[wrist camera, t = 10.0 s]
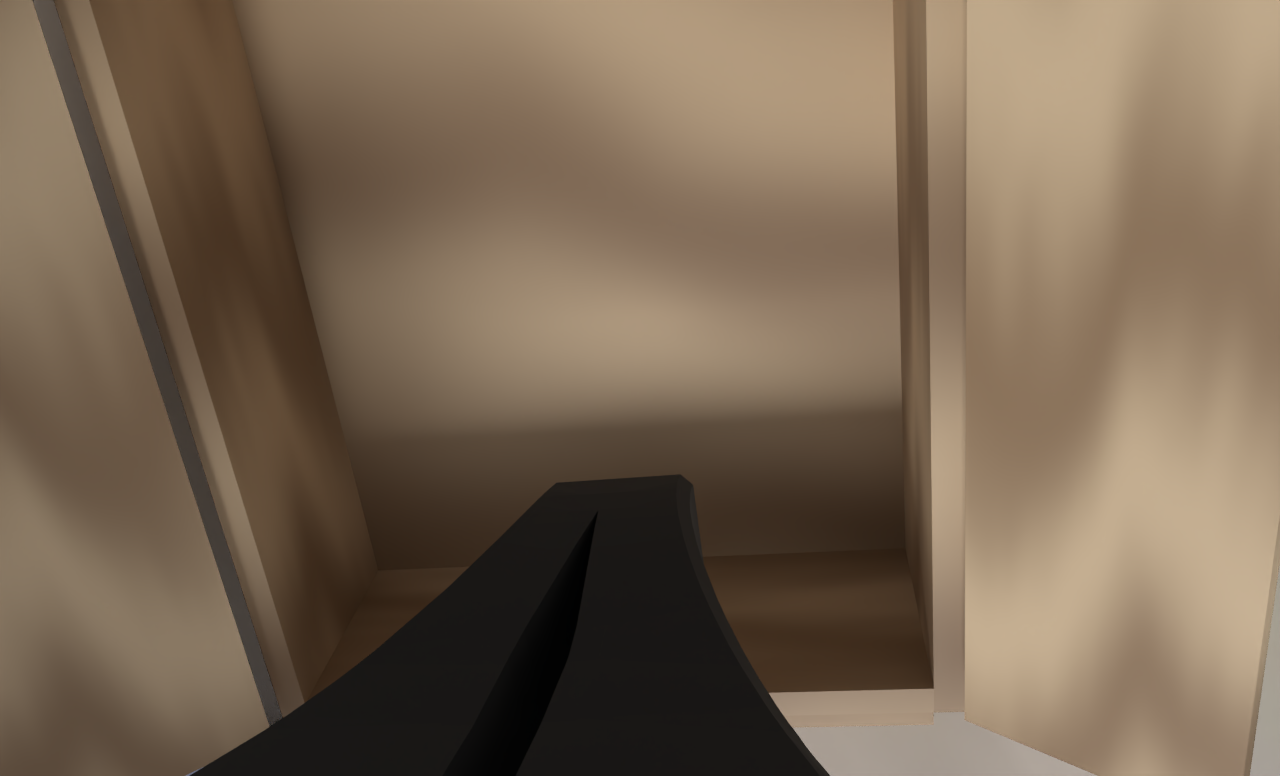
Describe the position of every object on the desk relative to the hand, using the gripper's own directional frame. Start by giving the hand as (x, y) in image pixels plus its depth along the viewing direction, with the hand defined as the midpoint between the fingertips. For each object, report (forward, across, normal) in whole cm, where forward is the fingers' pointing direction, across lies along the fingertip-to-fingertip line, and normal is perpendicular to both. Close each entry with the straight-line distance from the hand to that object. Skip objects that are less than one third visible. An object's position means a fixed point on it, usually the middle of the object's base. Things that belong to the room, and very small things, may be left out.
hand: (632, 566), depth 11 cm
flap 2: (+6, -4, -1) cm, 7 cm away
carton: (+10, +2, -1) cm, 11 cm away
